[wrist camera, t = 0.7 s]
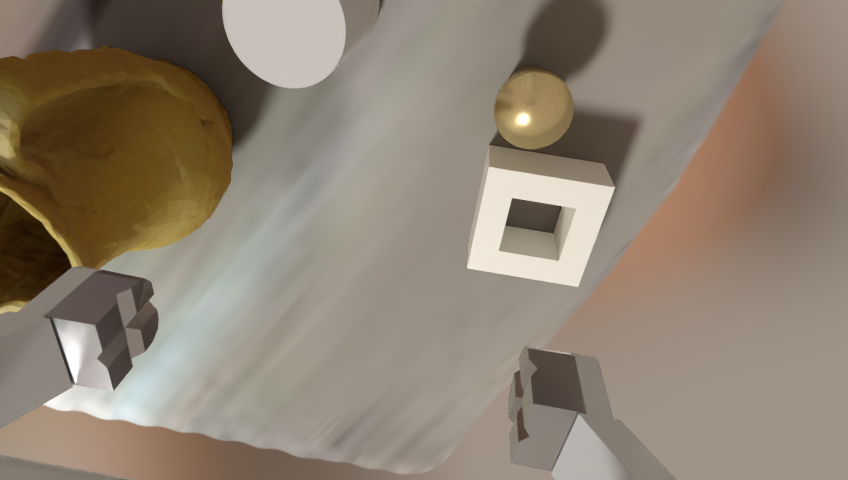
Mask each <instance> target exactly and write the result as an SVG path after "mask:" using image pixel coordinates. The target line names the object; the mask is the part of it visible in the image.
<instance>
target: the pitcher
mask: <svg viewBox="0 0 848 480" xmlns="http://www.w3.org/2000/svg"><path fill="white" fill-rule="evenodd" d="M231 131H232V126H231V125H230V123H229V118H228V113H227V111H226V110H225V109H224V106H222V104H221V103H220V101H219V99H218V98H217V97H216V96H215V94H214V93H213V90H210V88H209V87H208V85H207V84H206V83H204V82H202V80H201V78H199V77H198V75H195V73H193V72H191V71H190V70H188V69H183V68H181V67H179V66H176V65H175V64H174V63H170V61H166V60H165V59H160V60H156V59H153V60H152V59H149V58H146V57H143V56H140V55H138V54H135V53H132V52H129V51H126V50H124V49H120V48H108V47H106V46H102V47H101V48H100V49H91V50H85V49H82V50H76V51H74V52H72V53H70V52H64V51H61V50H57V49H56V50H51V51H46V52H41V53H36V54H30V55H28V56H26V58H25V59H21V58H18V57H15V56H11V57H6V58H1V59H0V314H2V313H5V312H8V311H11V312H18V311H19V310H20V309H21V308H23V307H24V306H25V305H26V304H28V303H29V302H30V301H31V300H32V299H34V298H35V297H36V296H37V295H39V294H40V293H41V292H42V291H43V290H45V289H46V288H47V287H48V286H50V285H51V284H52V283H53V282H55V281H56V280H57V279H58V278H59V277H61V276H62V275H63V274H64V273H66V272H67V271H68V270H69V269H70V268H73V267H77V266H83V267H88V268H93V269H100V268H101V267H103V266H104V265H105V264H106V263H108V262H109V261H111V260H112V259H114V258H115V257H117V256H119V255H121V254H123V253H124V252H127V251H138V250H148V249H155V248H159V247H163V246H166V245H169V244H171V243H174V242H176V241H178V240H180V239H182V238H184V237H186V236H187V235H189V234H190V233H192V232H193V231H195V230H196V229H198V228H199V227H200V226H201V225H202V224H203V223H204V222H205V221H206V220H207V219H208V218H210V217H211V215H212V214H213V212H214V211H215V209H216V207H217V205H218V204H219V202H220V200H221V198H222V196H223V195H224V193H225V192H226V190H227V188H228V186H229V184H230V182H231V171H232V167H233V161H232V144H234V143H233V141H234V140H233V139H232V132H231Z"/></svg>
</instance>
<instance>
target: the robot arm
mask: <svg viewBox="0 0 848 480" xmlns="http://www.w3.org/2000/svg"><path fill="white" fill-rule="evenodd" d="M153 295H154V291H153V287H152V283H151V281H149V280H147V279H145V278H140V277H135V276H130V275H125V274H120V273H115V272H110V271H105V270H98V269H93V268H88V267H83V266H77V267H73V268H70V269H69V270H68V271H67V272H66V273H64V274H63V275H62V276H61V277H59V278H58V279H57V280H56V281H55V282H53V283H52V284H51V285H50V286H48V287H47V288H46V289H45V290H43V291H42V292H41V293H40V294H39V295H37V296H36V297H35V298H34V299H32V300H31V301H30V302H29V303H28V304H26V305H25V306H24V307H23V308H21V309H20V310H19V311H18V312H11V311H8V312H5V313H2V314H0V429H1V428H3V427H5V426H6V425H8V424H10V423H12V422H13V421H15V420H17V419H18V418H20V417H22V416H24V415H25V414H27V413H29V412H30V411H32V410H34V409H35V408H37V407H39V406H41V405H42V404H44V403H46V402H48V401H49V400H51V399H53V398H54V397H56V396H58V395H60V394H61V393H63V392H65V391H66V390H68V389H70V388H72V387H73V386H72V385H78V386H84V387H91V388H98V389H104V390H111V391H114V390H115V388H116V387H117V386H118V385H119V384H120V382H121V381H122V380H123V379H124V377H125V376H126V375H127V374H128V372H129V371H130V370H131V369H132V367H133V364H132V358H133V357H135V356H137V355H139V354H141V353H144V352H145V351H146V350H147V349H148V347H149V346H150V345H151V343H152V342H153V340H154V337H155V335H156V332H157V330H158V321H159V318H158V312H157V309H156V308H155V307H154V306H153V305H152V304H151V303H150V301H149V300H150V298H151V297H152V296H153ZM519 363H520V370H519V371H517V372H516V373H514V376H513V380H512V383H511V388H510V395H509V418H510V419H511V421H512V422H513V426H512V429H511V432H510V455H511V463H514V464H519V465H524V466H528V467H533V468H538V469H543V470H547V471H552V475H553V477H554V479H555V480H677V479H676V478H675V477H674V476H673V475H672V474H671V473H670V472H669V471H668V470H667V469H666V468H665V467H664V466H663V465H662V464H661V462H659V461H658V459H657V458H656V457H655V456H654V455H653V454H652V453H651V452H650V451H649V450H648V449H647V448H646V447H645V446H644V445H643V444H642V442H641V441H640V440H639V439H638V438H637V437H636V436H635V435H634V434H633V433H632V432H631V431H630V430H629V429H628V428H627V427H626V426H625V424H624V423H622V421H620V420H614V419H613V415H612V411H611V407H610V403H609V399H608V396H607V392H606V388H605V385H604V380H603V377H602V373H601V369H600V365H599V361H598V360H597V358H596V357H593V356H586V355H580V354H573V353H572V354H570V353H566V352H559V351H554V350H548V349H542V348H536V347H530V346H524V348H523V350H522V352H521V355H520V358H519ZM0 480H135V479H129V478H124V477H118V476H113V475H108V474H102V473H96V472H91V471H85V470H80V469H74V468H70V467H64V466H59V465H53V464H47V463H42V462H37V461H32V460H26V459H21V458H15V457H10V456H4V455H0Z"/></svg>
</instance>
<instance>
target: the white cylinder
mask: <svg viewBox="0 0 848 480" xmlns="http://www.w3.org/2000/svg"><path fill="white" fill-rule="evenodd" d="M379 5H380V0H223V4H222V15H223V23H224V28H225V31H226V34H227V37H228V40H229V42H230V44H231V46H232V48H233V50H234V51H235V53H236V55H237V56H238V57H239V59H240V60H241V61H242V62H243V64H244V65H245V66H246V67H247V68H248V69H249V70H250V71H252V72H253V73H254V74H255V75H257V76H258V77H260V78H261V79H263V80H265V81H267V82H269V83H271V84H274V85H277V86H280V87H285V88H304V87H308V86H311V85H314V84H316V83H318V82H320V81H322V80H323V79H324V78H326V77H327V76H328V75H329V74H330V73H331V72H332V71H333V70H334V69H335V68H336V67H337V66H338V65H339V64H340V63H341V62H342V61H343V60H344V59H345V58H346V57H347V56H348V55H349V54H350V53H351V52H352V51H353V50H354V49H355V48H356V47H357V46H358V45H359V44H360V43H361V42H362V41H363V40H364V39H365V38H366V37H367V36H368V35H369V34H370V32H371V31H372V29H373V28H374V26H375V23H376V21H377V18H378V14H379Z"/></svg>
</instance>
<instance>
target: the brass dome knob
mask: <svg viewBox="0 0 848 480" xmlns="http://www.w3.org/2000/svg"><path fill="white" fill-rule="evenodd" d="M573 114H574V103H573V98H572V95H571V93H570V91H569V89H568V87H567V85H566V84H565V82H564V81H563V80H562V79H561V78H560V77H558V76H557V75H556V74H554V73H552V72H549V71H546V70H543V69H541V68H538V67H524V68H521V69H519V70H517V71H516V72H514V73H513V74H512V75H511V76H510V77H509V79H508V80H507V81H506V82H505V83H504V85H503V86H502V87H501V89H500V91H499V92H498V95H497V97H496V100H495V106H494V116H495V123H496V126H497V128H498V131H499V132H500V134H501V135H502V136H503V138H504V139H505V140H507V141H508V142H509V143H511V144H512V145H514V146H517V147H519V148H523V149H539V148H543V147H546V146H549V145H551V144H552V143H554V142H556V141H557V140H558V139H560V138H561V137H562V136H563V135H564V133H565V132H566V131H567V129H568V128H569V126H570V124H571V121H572V118H573Z"/></svg>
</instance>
